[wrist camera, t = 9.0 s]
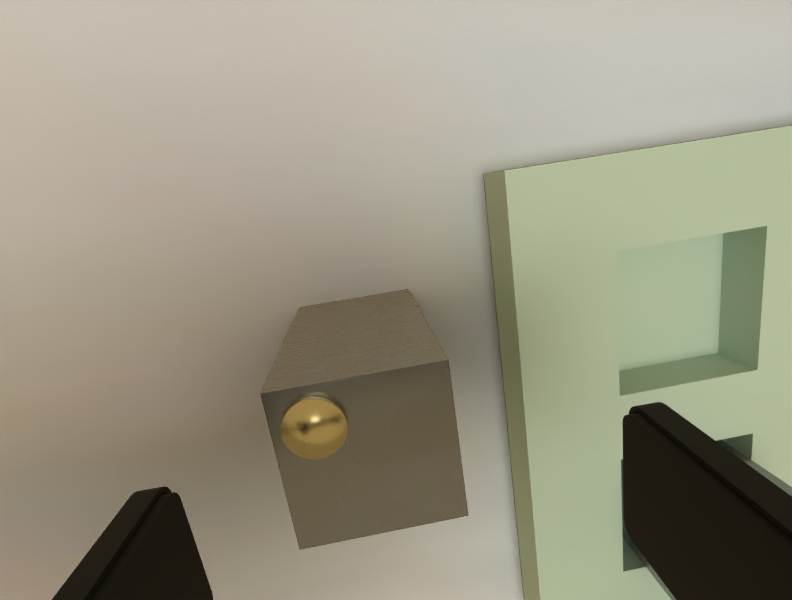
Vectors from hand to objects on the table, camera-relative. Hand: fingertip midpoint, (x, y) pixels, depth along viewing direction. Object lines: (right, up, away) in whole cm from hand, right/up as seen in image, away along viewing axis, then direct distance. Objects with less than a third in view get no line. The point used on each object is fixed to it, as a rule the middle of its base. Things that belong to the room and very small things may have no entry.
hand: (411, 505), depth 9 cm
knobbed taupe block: (-2, +2, +10) cm, 10 cm away
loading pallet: (+12, -3, +12) cm, 18 cm away
